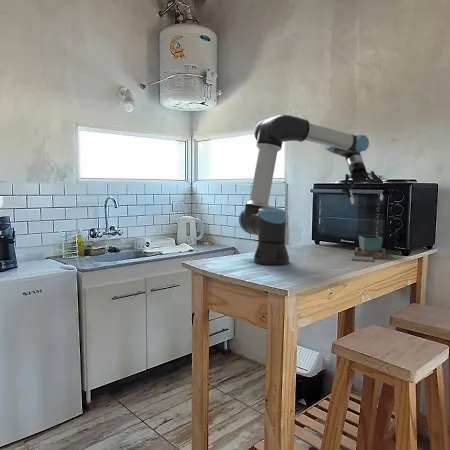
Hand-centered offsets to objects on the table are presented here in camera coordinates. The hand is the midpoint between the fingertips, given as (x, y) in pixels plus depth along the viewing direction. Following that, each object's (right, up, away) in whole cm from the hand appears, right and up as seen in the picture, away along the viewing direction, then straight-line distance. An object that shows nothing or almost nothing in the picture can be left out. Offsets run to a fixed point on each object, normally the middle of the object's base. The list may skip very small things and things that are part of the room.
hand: (367, 201), depth 192 cm
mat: (-6, -27, -9) cm, 29 cm away
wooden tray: (+1, -26, 0) cm, 26 cm away
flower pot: (+1, -26, 0) cm, 26 cm away
